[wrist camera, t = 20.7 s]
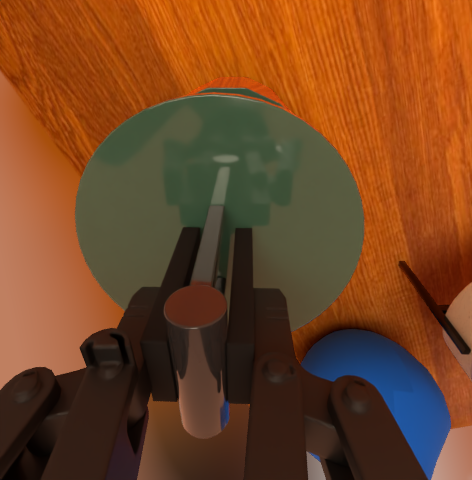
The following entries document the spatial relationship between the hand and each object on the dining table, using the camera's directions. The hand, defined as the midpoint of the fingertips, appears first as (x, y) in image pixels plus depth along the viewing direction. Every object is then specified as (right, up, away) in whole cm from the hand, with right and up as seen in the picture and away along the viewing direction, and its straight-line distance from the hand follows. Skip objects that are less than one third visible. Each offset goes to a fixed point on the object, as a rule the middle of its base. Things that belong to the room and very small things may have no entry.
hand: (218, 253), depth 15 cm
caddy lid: (0, 0, +1) cm, 1 cm away
